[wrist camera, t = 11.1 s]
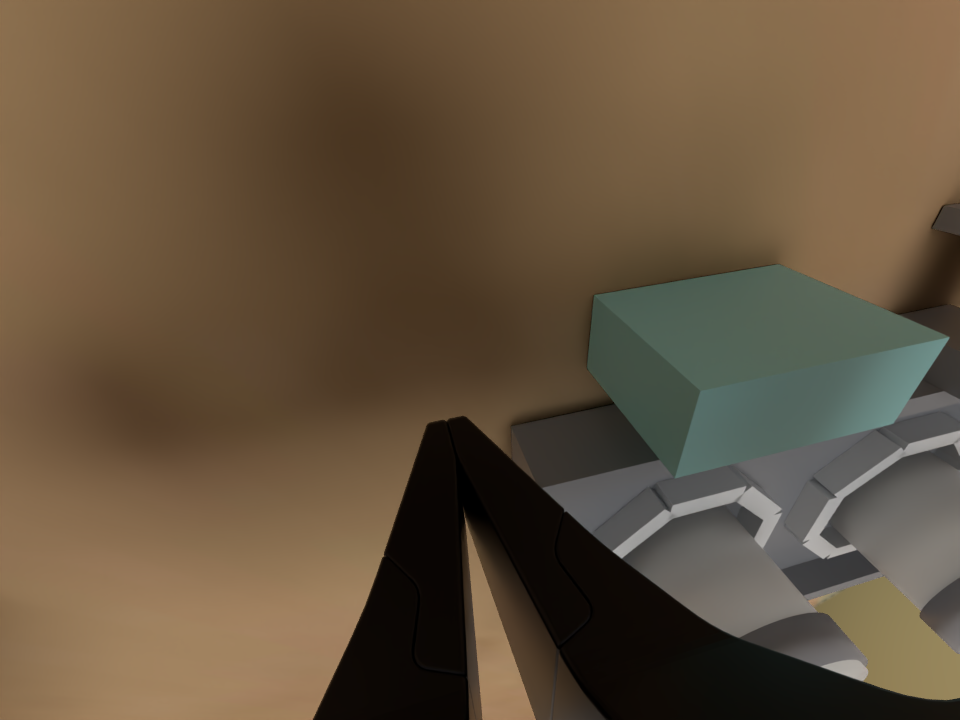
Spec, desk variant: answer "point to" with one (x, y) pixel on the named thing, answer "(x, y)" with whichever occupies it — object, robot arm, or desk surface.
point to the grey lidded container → (912, 535)
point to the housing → (748, 471)
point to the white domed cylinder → (741, 589)
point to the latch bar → (752, 364)
